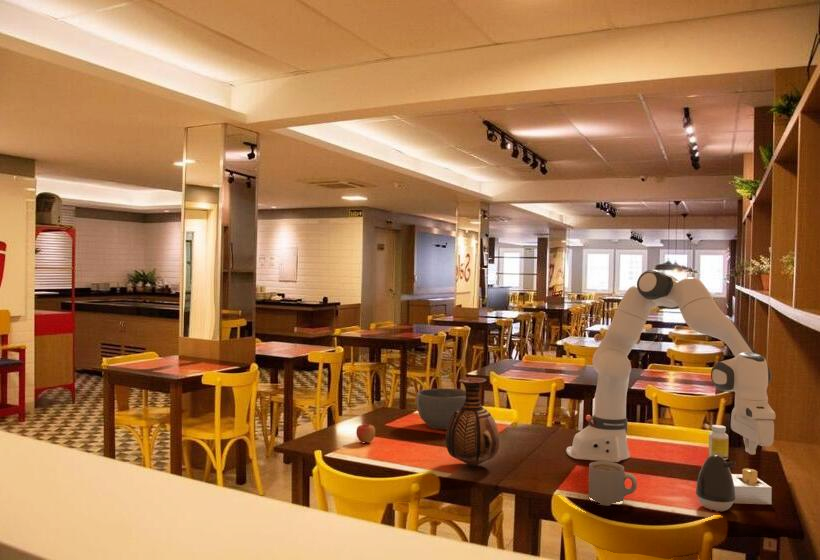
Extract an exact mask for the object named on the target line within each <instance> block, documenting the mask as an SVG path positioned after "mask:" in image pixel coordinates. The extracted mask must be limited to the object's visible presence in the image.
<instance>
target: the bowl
mask: <svg viewBox="0 0 820 560" xmlns="http://www.w3.org/2000/svg"><path fill="white" fill-rule="evenodd" d="M415 395H416V396H415V405H416V410H417V412H418V414H419V417H420V419H421V420H422V421H423V422H424V423H425V424H426V426H428V427H430V428H432V429H434V430H447V427H448V424H449V421H450V419H451V417H452V415H453V414H454V412H455V411H457V410H458V409H460V408H461V407H463V405H464V403H465V398H466V390H463V389H460V388H441V387H440V388H429V389H421V390H419V391H417V392H416V394H415Z"/></svg>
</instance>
